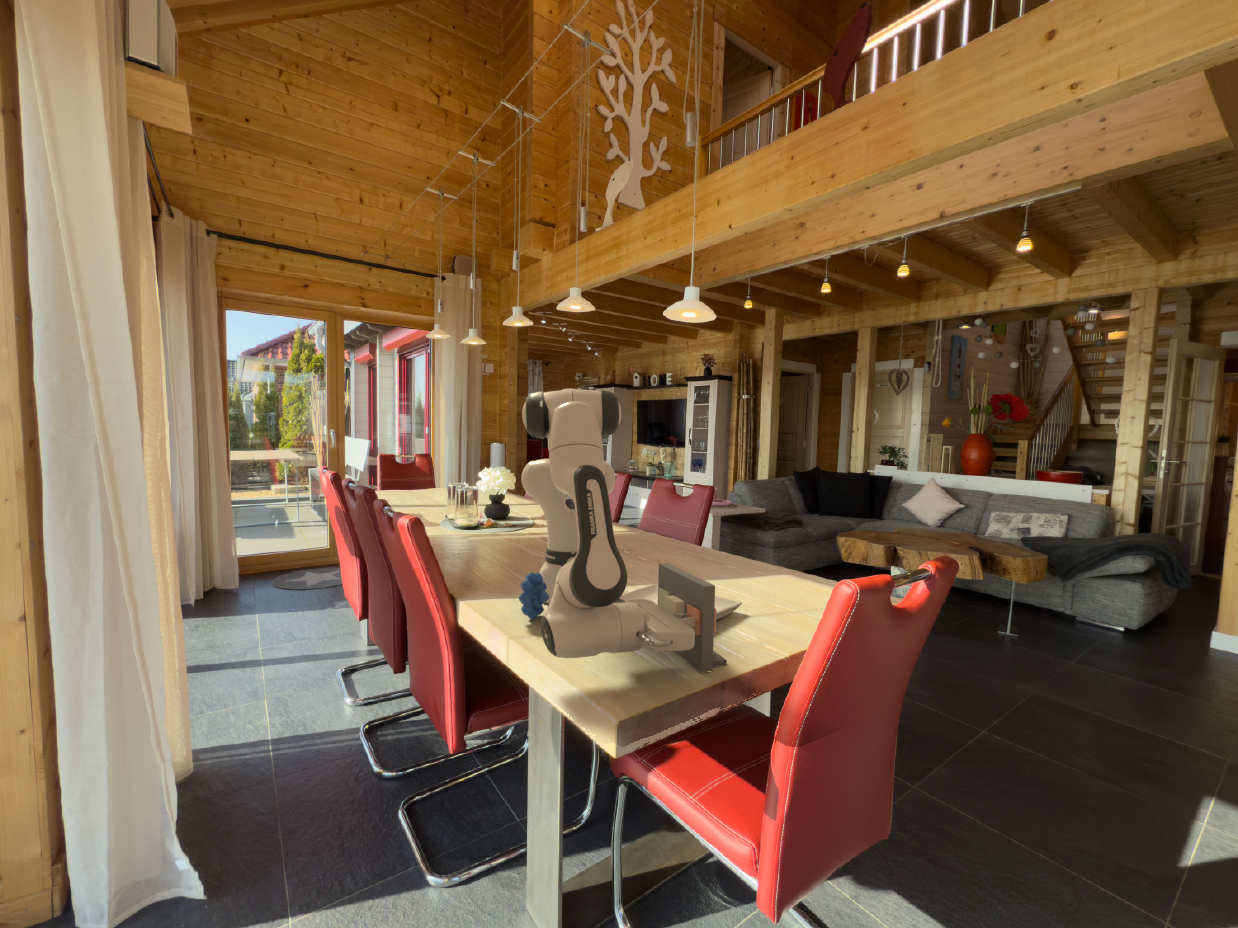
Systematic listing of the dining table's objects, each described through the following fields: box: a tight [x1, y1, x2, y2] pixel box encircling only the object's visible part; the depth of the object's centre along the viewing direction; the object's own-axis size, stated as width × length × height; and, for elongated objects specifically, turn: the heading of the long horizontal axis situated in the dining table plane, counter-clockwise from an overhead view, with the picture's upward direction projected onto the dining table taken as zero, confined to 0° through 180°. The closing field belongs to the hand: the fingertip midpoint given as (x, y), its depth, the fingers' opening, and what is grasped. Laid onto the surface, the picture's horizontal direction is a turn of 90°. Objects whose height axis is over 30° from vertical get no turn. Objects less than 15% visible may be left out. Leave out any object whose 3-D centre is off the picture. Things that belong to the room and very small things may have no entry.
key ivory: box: [665, 595, 685, 614], centre depth 116 cm, size 5×4×5 cm
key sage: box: [658, 587, 670, 610], centre depth 123 cm, size 5×4×5 cm
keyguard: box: [657, 562, 728, 674], centre depth 118 cm, size 20×7×17 cm, turn 22°
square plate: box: [620, 583, 743, 621], centre depth 143 cm, size 27×27×4 cm
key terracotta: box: [687, 604, 717, 636], centre depth 111 cm, size 5×4×5 cm
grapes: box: [518, 571, 549, 620], centre depth 136 cm, size 12×7×12 cm, turn 161°
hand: (692, 619), depth 110 cm, fingers closed, pressing on key terracotta
